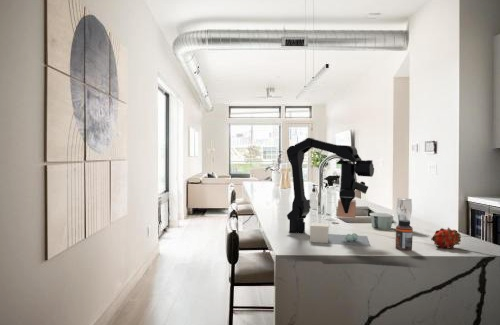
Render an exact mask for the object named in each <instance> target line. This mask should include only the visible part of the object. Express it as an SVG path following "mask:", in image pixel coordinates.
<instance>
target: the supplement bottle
mask: <svg viewBox="0 0 500 325" xmlns="http://www.w3.org/2000/svg"><path fill="white" fill-rule="evenodd" d="M413 230H414V229H413V226H411V220H410V221H409V220H399V225H398V224H397V225H396V227H395V249H396V250H398V251H408V252H409V251H412V250H413V233H414V232H413Z"/></svg>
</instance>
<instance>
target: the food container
mask: <svg viewBox="0 0 500 325" xmlns="http://www.w3.org/2000/svg"><path fill="white" fill-rule="evenodd" d="M369 216H370V221H371V222H370V223H371V227H372V228H374V229H379V230H390V229H392V226H393V225H392V224H393V220H394V217H395V215H394V214H392V213H388V212H387V213H386V212H370V213H369Z"/></svg>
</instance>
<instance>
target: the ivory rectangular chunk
mask: <svg viewBox="0 0 500 325" xmlns="http://www.w3.org/2000/svg"><path fill="white" fill-rule="evenodd" d="M309 226H310V227H309V228H310V229H309V230H310V231H309V240H310V242H322V243H321V244H324V243H328V235H329V234H330V232H329V230H330V228H329V226H330V225H329V223H321V222H320V223H319V222H311V223H310V225H309Z"/></svg>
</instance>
